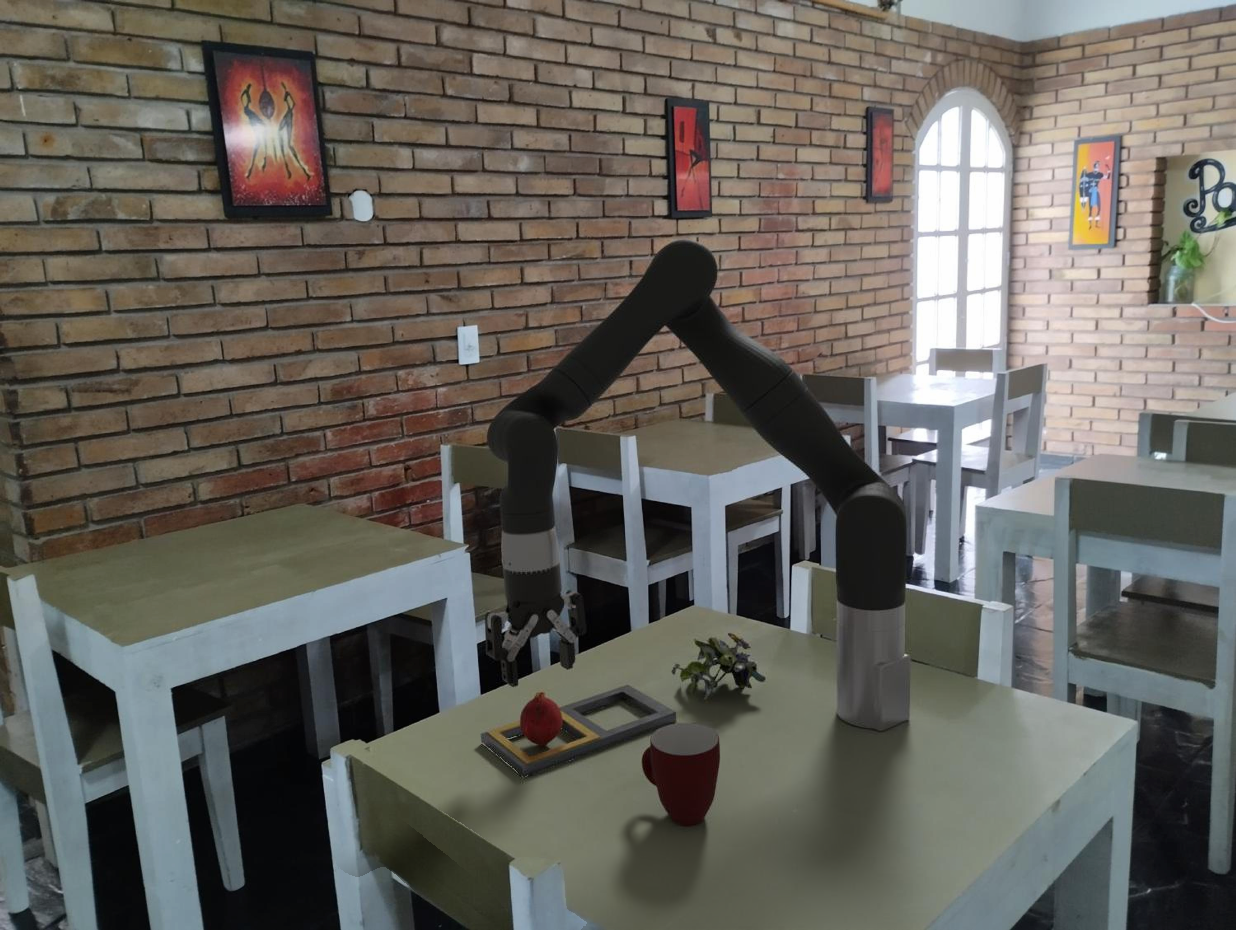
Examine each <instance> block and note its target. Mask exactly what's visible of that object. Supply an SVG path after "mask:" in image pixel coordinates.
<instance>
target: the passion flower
mask: <svg viewBox="0 0 1236 930" xmlns="http://www.w3.org/2000/svg"><path fill="white" fill-rule="evenodd" d="M727 636H728V637H729V638H730V639H732V640H733V642H734V643H736V644H735V646H734V647H733V646H732V647H729V644H726V642H725V641H723V640H721V639H718V638H717V637H716V636H715V637H714V636H712V637H711V636H710V637H709V638H708V639H706V642H707V643H706V642H704V641H700V640H699V639H698V638H697V637H695V638H694V639H693V640H694V645H696V646H697V647H698V648H699V649H700V651H699V652H698V656H697V660H695V661H691V662H690V663H688V665H687V666H686V667H685V668H682V667H681V666H680V663H675V664H674V666H673V668H672V670H671V673H672V675H673V676H674V675H676V671H677V669H678V670H681V671H680V673H679V674H680V675H679V678H680V680H681V682H684V681H686V680H689V679H690V682H691V683H692V684H691V685H690V693H691V695H693V694H694V691H695V688H696V687H697V684H698V683H699V682H700V681H703V682H704V690H705V691H704V692H705V694H704V695H705V696H704V699H703V700H702V702H701V703H702V704H704V703H705V701H707V699H708V696H709V695H710V694H711V693H712V692H713V691H714V690H715V689H716V688H717V687H718V684H719V682H721V681H722V679H723V678H724V677H725V676H726V674H731V675H732V676H733V680H734V683H735V685H736V686H737V687H739V688H740V689H744V688H747V689H750V690H752V688H753V686H752V684H751V682H750V679H751V678H754V679H755V680H756V681H758V682H759V683H764V682H765V681H766V676H764V675H763V674H761V673H759V672H758V668H757V663H756V662H755V661H751V660H750V659H749V658H748V657H750V656H751V655H750V654H747V653H744V652H743V651H742V652H738V649H739V648H740V647H742V648H743V649H744V650H748V649H752V647H751V646H750V645H749V643H748V642H746V641H745V640H744V639H743V637H740V636H738V635H737V634H736V633H731V632H728V633H727ZM703 659H705V661H704V662H703V663H702V662H701V661H700V660H703ZM717 665H720V666H719V669H718V671H717V672H716V674H715V676H712V675H711V672H710V670H711V668H712V667H714V666H717ZM720 671H722V672H723V674H722V675H721V676H720V677H719V678H718V679H717V677H718V676H719V673H720ZM704 676H705V677H708V678H709V679H706V678H705V677H704ZM716 679H717V680H716Z"/></svg>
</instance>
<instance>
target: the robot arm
mask: <svg viewBox="0 0 1236 930" xmlns="http://www.w3.org/2000/svg"><path fill="white" fill-rule="evenodd" d="M718 273H719V271H718V263H717V261H716V257H715V256H714V254H713V253H712V251H711V250H710V249H709V247H707V246H706V245H704V244H703V243H701V242H699V241H697V240H693V239H687V238H686V239H678V240H675V241H671V242H669V243H668V244H666V245H664V246H663V247H662V248H660V249H659V250H658V251H657V253H656V254H655V255H654V257H653V258H652V260H651V262H650V263H649V265H648V267H647V268H646V270H645V272H644V274H643V276H642V277H641V278H640V280H639V282H637V284H636V285H635V287H634V288H633V289H632V290H631V291H630V292H629V294H628V295H626V297H625V298H624V299H623V300H622V301H621V302H620V303H619V304H618V306H617V307H616V308H615V309H614V310H613V311H612V312H611V313H610V314H609V315H608V316H607V317H606V318H605V319H604V320H602V321H601V322H600V324H599V325H598V326H596V327H595V328H594V329H593V330H591V332H590V333H588V334H587V335H586V337H584V338H583V339H581V341H580V342H579V343H577V345H576V346H574V347H573V349H572V350H570V351H569V353H567V354H566V355H565V356H564V357H563V358H562V359H561V360H560V361H559V362H558V363H557V364H556V365H555V366H554V367H553V368H552V369H551V370H550V371H549V372H548V373H547V374H546V376H545V377H544V378H542V380H540V381H539V382H538V383H536V384H534V385H533V386H531V387H530V388H528V389H527V390H525V391H524V392H523V393H521V394H520V395H518V396H517V397H516V398H514V399H512V400H511V401H510V402H509V403H508V404H506V405H505V406H504V407H503V408H502V409H501V410H500V411H498V412H497V413H496V415H495V416H494V417H493V419H492V420H491V422H490V424H489V426H488V428H487V432H486V443H487V446H488V449H489V450H490V452H491V454H492V455H494V456H495V457H496V458H497V459H499V460H501V461H504V462H506V463H507V485H505V486H504V487H503V488H502V490H501V491H500V494H499V510H500V511H499V514H500V515H499V516H500V524H501V544H500V545H501V546H500V547H501V549H500V550H501V563H502V572H503V582H504V583H503V585H504V586H503V587H504V594H505V599H506V607H505V611H499V612H497V613H494V612H492V611H487V612H486V613H485V615H484V630H485V631H484V633H485V636H484V637H485V654H486V655H487V656H489V657H490V658H492V659H494V660H495V661H498V662H499V661H500V668H501V678H502V680H503V682H505V683H506V684H507V685H509V686H511V688H516V687H517V686H519V675H518V674H519V673H518V666H517V665H518V662H517V659H516V656H517V655H518V653H519V651H520V649H521V648H522V647H524V646H525V644H526V642H527V640H528V639H532V638H535V637H538V636H539V635H542V634H543V635H546V634H549V633H550V634H551V631H552V630H553V631H554V632H555V633H556V634H557V636H559V638H560V639H559V640H558V646H559V647H558V649H559V651H558V652H559V665H560V667H561V668H564V669H565V670H571V669H573V667H574V665H575V663H576V650H575V642H576V639H577V638H579V637H580V636H584V635H586V634H587V628H588V627H587V623H586V614H585V613H586V612H585V605H584V598H583V595H582V594H580V593H579V592H577V591H574V590H571V589H568V590H567V591H566V593H565V594H563V595H562V594H561V592H562V588H563V587H562V576H561V562H560V561H561V559H560V551H559V550H560V548H559V547H560V546H559V540H558V535H557V531H556V519H555V507H554V498H553V497H554V496H553V495H554V494H553V493H554V488H555V481H556V475H557V467H558V459H559V457H558V456H559V445H558V443H559V442H558V438H557V434H556V431H555V429H556V428H557V427H558V426H559V425H561V424H563V423H565V422H570V421H574V420H577V419H578V418H580V417H582V416H583V415H584V414H585V413H586V412H587V411H588V410H589V409H590V408H591V407H592V406H593V405H594V404H595V403H596V402H597V400H599V399H600V398H601V396H603V395H604V393H606V392H607V391H608V389H610V387H611V386H612V385H613V384H614V383H615V382H616V381H617V380H618V379H619V377H620V376H621V375H622V374H623V372H625V371H626V369H627V368H628V367H629V366H630V365H631V363H632V362H633V360H635V358H637V356H638V355H639V353H641V351H642V350H643V348H645V346H647V345H648V343H649V342H650V341H651V340H652V339H653V338H654V337H655V336H656V335H657V334H658V333H659V332H660V331H661V330H662V329H663V328H664V327H666V328H667V329H668V330H669V331H670V332H671V333H672V334H673V335H674V336H675V337H676V338H677V339H678V340H679V341H680V342H682V344H683V345H684V346H685V347H686V348H688V350H689V351H690V352H691V353H692V354H693V355H694V357H696V358H697V360H698V361H700V363H701V364H702V366H703V368H705V370H706V371H707V372H708V373H709V374H710V375H709V376H711V377H712V378H713V379H714V381H715V382H716V383H717V384H718V385H719V387H720V388H721V390H722V391H723V392H724V393H725V394H726V395H727V397H728V398H729V400H731V402H732V403H733V405H734V406H735V407H736V408H737V409H738V411H739V412H740V413H741V415H742V416H743V417H744V418H745V420H746V421H747V422H748V423H749V424H750V425H751V426H752V428H753V429H754V430H755V431H756V433H757V434H758V435H759V436H760V437H761V439H763V440H764V441H765V442H766V443H767V444H768V445H769V446H770V447H771V448H772V449H773V450H775V451H776V452H777V453H779V454H780V455H781V456H782V457H784V458H785V459H786V460H787V461H789V462H790V463H791V464H793V465H794V466H795V467H796V468H797V469H799V470H800V471H802V473H804V474H805V475H806V476H807V477H808V479H810V480H811V482H812V483H813V485H814V486H816V488H817V489H818V491H819V492H820V493H821V494H822V496H823V498H825V500H826V502H827V504H829V506H830V508H831V509H832V511H833V512H834V514H835V515H836V516H835V517H836V518H835V529H834V530H835V532H834V533H835V535H834V536H835V537H834V538H835V539H834V540H835V546H834V547H835V584H836V585H835V586H836V714H837V716H838V717H839V718H840V720H842V721H844V722H846V723H847V724H849V725H853V726H856V727H860V728H866V729H872V730H873V729H874V730H877V731H879V732H882V731H884V730H885V731H886V730H887V729H889V728H890V729H891V728H893V727H894V726H896V725H899V724H901V723H904V722H906V721H908V720H909V719H910V715H911V713H910V710H911V706H910V705H911V656H910V655H909V654H908V653H905V637H906V635H905V634H906V633H905V632H906V631H905V629H906V628H905V627H906V626H905V625H906V623H905V622H906V590H907V589H906V588H907V550H908V549H907V547H908V546H907V544H908V543H907V540H908V536H907V535H908V526H907V524H908V523H907V513H906V512H907V511H906V506H905V504H904V501H903V499H902V498H901V496H900V495H899V493H898V492H897V491H896V490H895V489H894V488H893V487H892V486H891V485H890V484H889V483H888V482H887V481H885V479H883V478H882V477H881V476H880V475H879V474H878V473H877V472H876V471H875V470H874V469H873V468H872V467H871V466H870V465H869V464H868V463H867V462H866V461H865V460H864V459H863V458H862V457H861V456H860V455H859V454H858V453H857V452H856V450H854V449H853V448H852V446H851V445H850V443H848V441H847V440H846V439H845V437H844V435H843V434H842V433H841V431H840V430H839V428H838V427H837V425H836V424H835V422H834V421H833V419H832V418H831V416H830V415H829V414H828V412H827V411H826V410H825V409H824V407H823V406H822V405H821V403H820V402H819V400H818V399H817V397H816V396H815V395H814V394H813V393H812V391H811V390H810V389H809V387H808V386H807V385H806V384H805V383H804V381H803V380H802V379H801V378H800V376H799V375H798V373H796V372H795V371H794V369H793V368H792V367H791V366H790V365H789V364H788V363H787V362H786V360H784V359H783V358H782V357H781V356H780V355H778V354H777V353H775V352H774V351H773V350H771V349H769V348H768V347H766V346H765V345H763V344H762V343H759V342H758V341H756V340H755V339H753V338H752V337H750V336H748V335H746V334H745V333H744V332H742V331H741V330H740V329H739V328H737V326H735V325H734V324H733V323H732V322H731V321H730V319H728V317H727V316H726V315H725V314H724V312H723V311H722V310H721V309H720V307H719V306H718V304H717V303H716V302H715V301H714V299H713V297H712V296H711V294H712V293H713V290H714V289H715V287H716V283H717V280H718ZM564 607H565V608H566V609H567V615H568V624H569V626H568V625H567V624H566V623H565V622H564V621H563V619H562V618H561V617H560V615H561V613H562V612H563V610H564ZM506 622H508V623H509V626H508V627H507V630H506V631H505V634H504V635H503V630H504V629H505V628H506V626H505V625H506ZM517 633H518V635H517ZM503 636H504V640H503Z"/></svg>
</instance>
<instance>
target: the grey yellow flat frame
mask: <svg viewBox="0 0 1236 930" xmlns="http://www.w3.org/2000/svg"><path fill="white" fill-rule="evenodd" d="M621 702H624V703H626V704H628V705H629V706H632V707H633V708H635V709H637V710H639V711H640V712H642V713H643V714H645V715H646V716H644V717H641V718H638V719H635V720H633V721H630V722H627V723H625V724H622V725H619V726H616V727H613V728H611V729H608V730H605V728H602V727H601V726H600V725H598V724H596V723H595V722H593V721H592V720H590V719H588V718H587V716H584V715H585V713H586V714H588V712H589V713H591V712H590V711H592V712H594V710H595V711H598V710H600V708H601V709H603V708H602V707H604V708H606V707H609V706H612V705H615V704H618V703H621ZM558 707H559V706H558ZM559 709H560V711H561V714H562V720H563V723H562V729H563V731H564V730H565V731H567V732H568V733H569V734H568V733H567V732H566V733H567V734H568V735H570V736H571V735H572V736H571V737H573V736H574V737H573V739H574V738H576V739H575V740H574V741H573V740H572V741H571V742H568V743H565V744H563V745H559V746H558V747H555V748H551V749H549V750H546V751H542V752H540V753H538V754H534V755H532V756H530V755H529V754H528V753H526V752H525V751H524V750H522V749H521V748H520V747H518V746H517V745H516V744H515V743H513V742H512V741H510V740H508V739H507V738H511V737H514V736H519V735H521V734H523V733H522V731H521V726H520V720H517V721H514V722H511V723H508V724H505V725H503V726H499V727H497V728H493V729H490V730H487V731H485V732H482V733H480V741H481V742H482V743H484V744H485V745H486V746H487V747H488V748H490V749H491V750H492V751H493V752H494V753H495V754H497V755H498V756H499V757H501V758H502V759H503V760H504V761H505V762H507V763H508V764H509V765H510V766H512V768H514V769H515V770H516V771H517V772H518V773H519V774H520V775H522V776H523V777H525V776H527V775H531V774H534V773H536V774H538V773H537V772H539V773H541V772H540V771H542V772H544V771H546V770H545V769H547V770H549V769H548V768H550V767H553V766H555V767H557V766H556V765H558V766H560V765H559V764H561V763H563V764H565V763H564V762H566V761H569V760H571V761H573V760H572V759H574V760H576V759H575V758H577V757H579V758H581V757H580V756H582V757H584V756H583V755H585V756H587V755H589V754H588V753H590V754H592V753H591V752H593V753H595V752H594V751H596V752H597V750H598V751H600V750H599V749H601V750H603V749H602V748H604V747H606V748H608V747H607V746H609V747H611V746H610V745H612V746H614V745H616V743H617V744H619V743H623V742H624V740H625V741H627V740H630V739H633V738H635V737H638V736H641V735H643V734H646V733H649V732H651V731H654V730H655V731H656V730H658V729H660V728H662V727H664V726H667V725H671V724H674V723H676V722H677V711H676V710H675V709H672V708H670V707H669V706H667V705H666V704H663V703H661V702H659V701H657V700H656V699H654V698H652V697H650V696H649V695H647V694H645V693H643V692H642V691H640V690H638V689H636V688H635V687H633V686H630V685H629V684H626V685H623V686H620V687H617V688H613V689H611V690H608V691H604V692H602V693H598V694H595V695H593V696H590V697H587V698H584V699H580V700H578V701H575V702H572V703H569V704H566V705H563V706H560V707H559ZM597 709H598V710H597ZM582 714H583V715H582ZM562 729H561V730H562ZM565 731H564V732H565ZM519 737H520V736H519ZM577 739H578V740H577ZM613 744H614V745H613ZM604 749H605V748H604ZM495 754H494V755H495ZM586 754H587V755H586ZM577 759H578V758H577ZM569 762H570V761H569ZM566 763H567V762H566ZM561 765H562V764H561ZM553 768H554V767H553ZM550 769H551V768H550ZM543 770H544V771H543ZM518 773H517V774H518ZM519 774H518V775H519ZM520 775H519V776H520ZM534 775H535V774H534ZM531 776H532V775H531Z"/></svg>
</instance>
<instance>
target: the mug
mask: <svg viewBox="0 0 1236 930" xmlns="http://www.w3.org/2000/svg"><path fill="white" fill-rule="evenodd" d="M720 746H721V744H720V736H719V734H718V733H717V732H716V731H715V730H714V729H712V728H711V727H709V726H706V725H702V724H700V723H699V724H698V723H694V722H693V723H692V722H680V723H671V724H668V725H665V726H663V727H660V728H657V729H655V731H654V732H653V733H652V735H651V736H650V745H649V746H648V747H647V748H646V749H645V750H644V752H643V753H642V757H641V768H642V772H643V774H644V776H645V778H646V779H647V780H648V781H649V782H650V783H651V784H652V785H653V786H655V787H656V789H657V794H658V798H659V801H660V804H661V805H662V807H663V808H664V810H665V812H666V814H667V815H668V816H669V818H670V819H671V821H672V822H674V823H675V824H677V825H679V826H680V825H681V826H694V825H698V824H699V823H702V821H703V820H704V819H705V817H706V815H707V814H708V812H709V811H710V808H711V806H712V805H713V802H714V798H715V795H716V790H717V789H716V788H717V782H718V777H719V776H718V775H719V770H720V764H721V763H720V762H721V747H720Z"/></svg>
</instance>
